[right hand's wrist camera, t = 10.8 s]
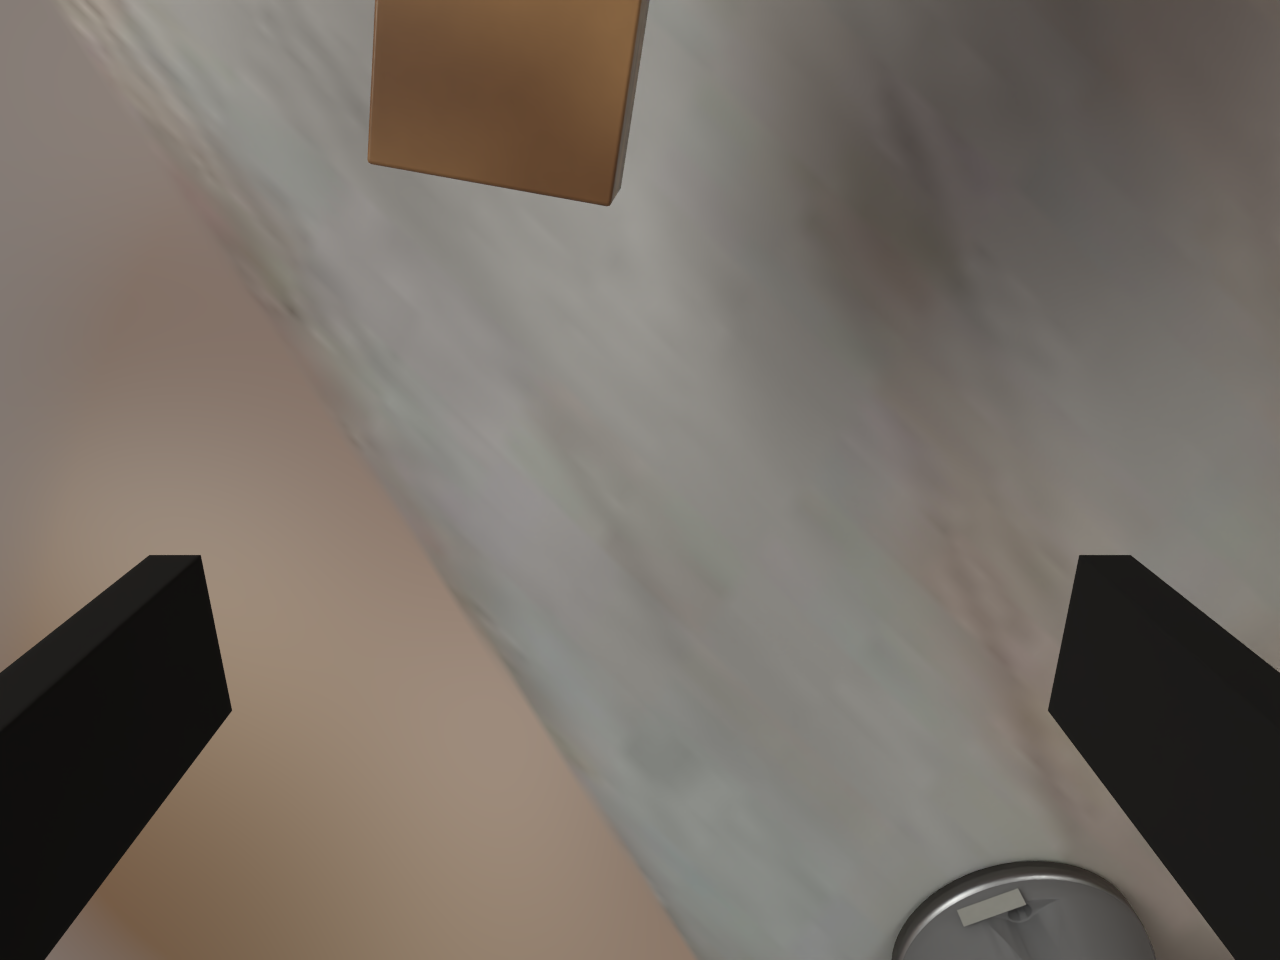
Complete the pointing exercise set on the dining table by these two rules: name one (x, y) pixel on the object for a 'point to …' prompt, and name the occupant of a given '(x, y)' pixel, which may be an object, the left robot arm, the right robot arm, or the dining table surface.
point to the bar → (507, 91)
